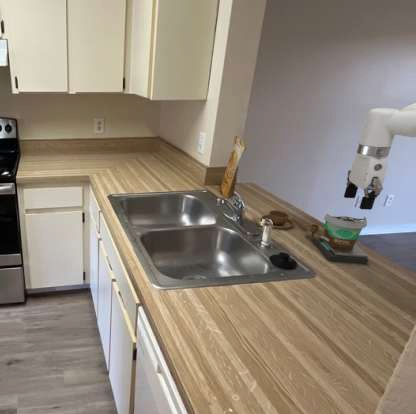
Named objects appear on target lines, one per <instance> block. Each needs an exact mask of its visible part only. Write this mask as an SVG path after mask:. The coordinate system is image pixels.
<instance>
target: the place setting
mask: <svg viewBox="0 0 416 414" xmlns="http://www.w3.org/2000/svg"><path fill="white" fill-rule="evenodd" d="M264 218H267V219H268V218H269V219H271V220H272V222H273V224H272V225H273V226H274V228H273V229H274V230H281V231H282V230H283V231H284V230H290V229H293V227H294V225H295V223H294V221H293V220H292V219H290V218H289V213H287V212H285V211H282V210H270V211H269V212H268V214H265V215H262V216H261V217H260V221H261V220H262V219H264ZM269 219H268V220H269ZM264 220H265V219H264ZM254 222H255V223H256V225H257V226H258V227H260V228H261V226H260V224H261V223H260V222H259V221H257V220H256V219H254ZM286 223H288V225H289V226H282V225H284V224H286ZM319 228H320V226H319V225H318V224H316V223H313V224H311V225H310V228H309V232H310V233H311V234H310V237H309V239H310V240H314V238H315V234H317V233H318V231H319ZM304 231H307V229H305V228H304Z"/></svg>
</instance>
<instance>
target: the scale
mask: <svg viewBox="0 0 416 414" xmlns="http://www.w3.org/2000/svg"><path fill="white" fill-rule="evenodd" d="M312 242H313V244H314V245H315V246H316V247H317V249H318V250H319V251H320V253H322V255H323V256H324V257H325V258H326V259H327V261H328V262H331V263H344V264H355V265H364V266H365V265H367V264H368V262H369V258H364V257H353V256H341V255H335V254H334V253H333V252H332V251H331V250H330V249H329V248H328V247H327V246H326V244H325V243H324V242H323V241H322V240H321V239H320V237H313V241H312Z"/></svg>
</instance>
